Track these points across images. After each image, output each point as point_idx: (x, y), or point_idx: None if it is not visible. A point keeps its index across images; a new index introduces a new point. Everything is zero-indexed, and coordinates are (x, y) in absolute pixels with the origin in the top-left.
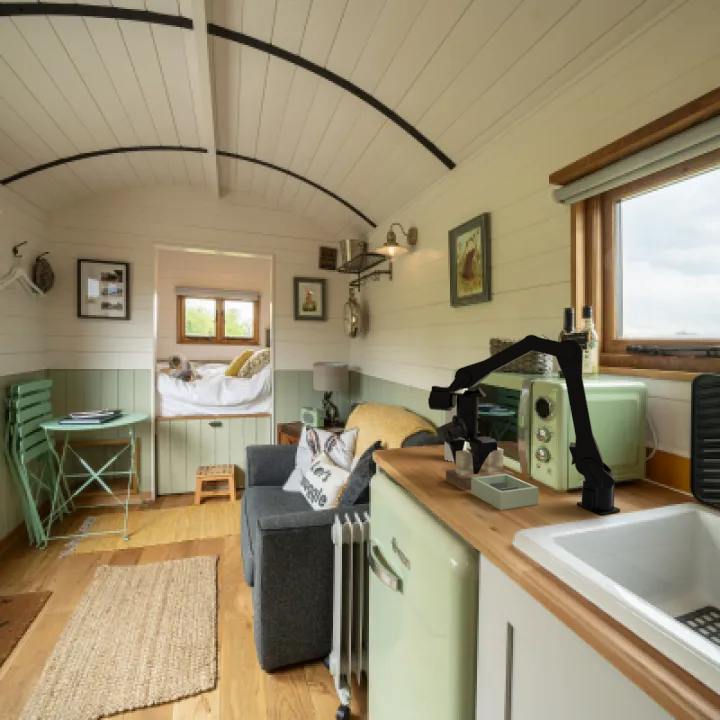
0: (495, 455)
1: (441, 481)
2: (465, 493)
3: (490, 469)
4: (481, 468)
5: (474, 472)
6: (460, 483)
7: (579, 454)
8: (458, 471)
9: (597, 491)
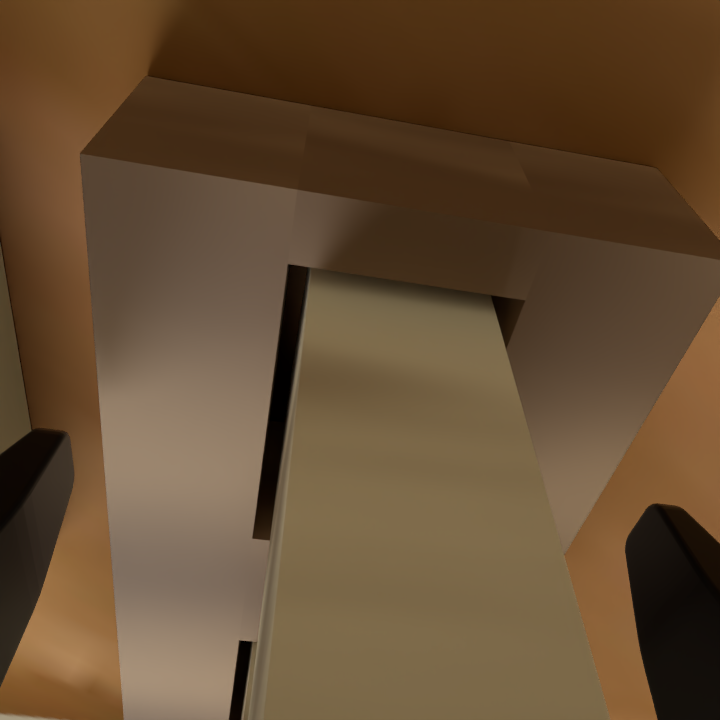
0: None
1: (698, 80)
2: (5, 10)
3: (245, 697)
4: None
5: (12, 446)
6: (196, 122)
7: None
8: (398, 333)
9: None
